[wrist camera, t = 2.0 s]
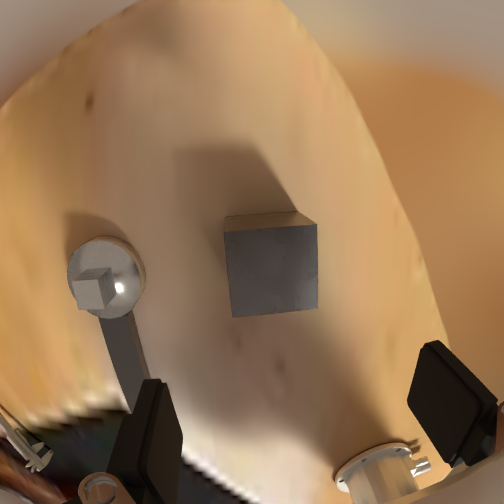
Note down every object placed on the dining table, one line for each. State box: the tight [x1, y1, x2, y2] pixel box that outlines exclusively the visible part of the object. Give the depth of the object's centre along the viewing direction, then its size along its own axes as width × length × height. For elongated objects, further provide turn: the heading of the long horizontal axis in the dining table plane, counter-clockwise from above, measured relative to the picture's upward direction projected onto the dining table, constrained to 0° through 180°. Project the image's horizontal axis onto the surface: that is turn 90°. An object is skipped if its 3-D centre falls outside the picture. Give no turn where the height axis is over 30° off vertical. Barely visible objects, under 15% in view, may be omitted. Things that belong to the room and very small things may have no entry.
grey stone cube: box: [224, 211, 318, 317], centre depth 24 cm, size 6×6×6 cm
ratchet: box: [67, 236, 151, 413], centre depth 26 cm, size 7×21×5 cm, turn 4°
